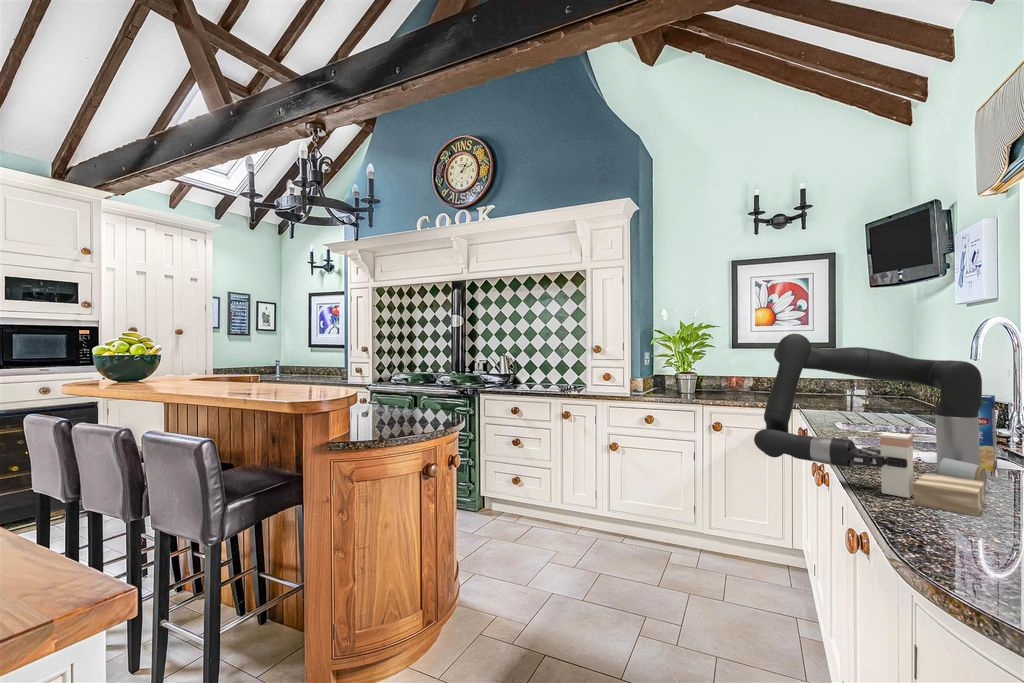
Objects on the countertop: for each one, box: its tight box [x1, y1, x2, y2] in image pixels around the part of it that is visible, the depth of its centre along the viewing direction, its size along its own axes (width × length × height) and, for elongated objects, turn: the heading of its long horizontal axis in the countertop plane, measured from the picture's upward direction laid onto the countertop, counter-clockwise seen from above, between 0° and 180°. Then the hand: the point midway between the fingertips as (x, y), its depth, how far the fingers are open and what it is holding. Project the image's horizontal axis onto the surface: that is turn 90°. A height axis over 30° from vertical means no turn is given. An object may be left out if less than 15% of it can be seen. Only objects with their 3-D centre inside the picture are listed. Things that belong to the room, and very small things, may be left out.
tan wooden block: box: [913, 472, 987, 517], centre depth 114 cm, size 14×11×5 cm
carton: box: [879, 431, 915, 499], centre depth 122 cm, size 6×6×15 cm
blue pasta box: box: [978, 394, 998, 472], centre depth 148 cm, size 7×11×22 cm, turn 39°
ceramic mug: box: [937, 458, 987, 486], centre depth 125 cm, size 11×8×8 cm
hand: (909, 461), depth 120 cm, fingers closed on carton, 5 cm apart
